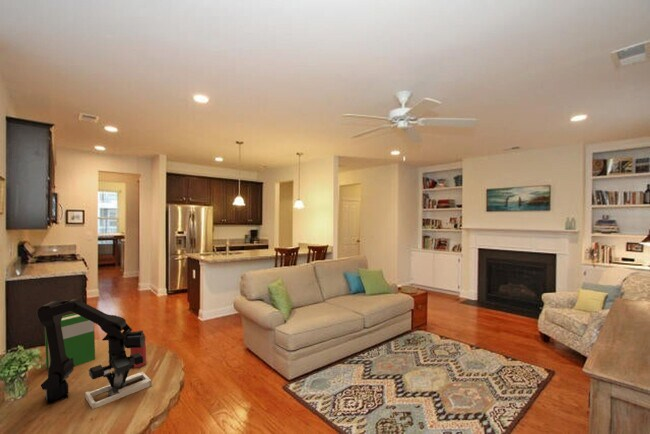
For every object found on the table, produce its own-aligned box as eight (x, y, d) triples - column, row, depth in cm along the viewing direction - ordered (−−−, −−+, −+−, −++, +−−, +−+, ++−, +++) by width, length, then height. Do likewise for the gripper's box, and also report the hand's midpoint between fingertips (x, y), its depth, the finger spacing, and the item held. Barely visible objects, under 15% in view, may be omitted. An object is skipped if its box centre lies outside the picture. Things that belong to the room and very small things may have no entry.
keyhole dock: (92, 409, 125) (92, 403, 124) (85, 397, 132) (85, 392, 132) (151, 385, 141) (151, 380, 141) (142, 376, 148) (142, 371, 148)
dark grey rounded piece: (111, 398, 131) (110, 377, 130) (106, 391, 135) (105, 371, 135) (130, 391, 136) (129, 370, 135) (124, 384, 141) (124, 364, 140)
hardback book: (50, 374, 149) (48, 323, 148) (46, 369, 153) (44, 320, 152) (95, 359, 163) (93, 313, 162) (90, 355, 167) (88, 310, 166)
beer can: (134, 370, 153) (133, 345, 153) (128, 365, 157) (127, 341, 157) (148, 364, 159) (148, 340, 158) (142, 360, 163) (142, 337, 162)
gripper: (95, 363, 122) (96, 403, 123) (147, 347, 136) (148, 382, 137) (88, 354, 130) (89, 391, 131) (138, 339, 144) (139, 373, 145)
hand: (118, 384), depth 136 cm, fingers closed on dark grey rounded piece, 4 cm apart
